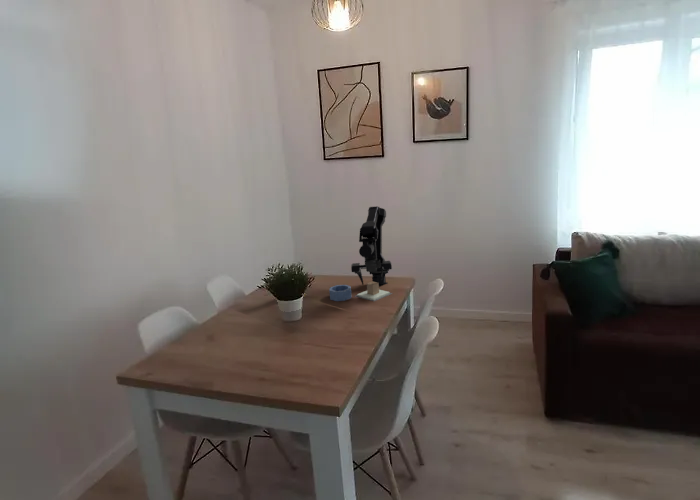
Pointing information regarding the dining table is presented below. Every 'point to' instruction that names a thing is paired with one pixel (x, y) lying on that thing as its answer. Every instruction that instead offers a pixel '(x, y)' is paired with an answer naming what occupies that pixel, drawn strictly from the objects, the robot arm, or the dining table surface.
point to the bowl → (340, 292)
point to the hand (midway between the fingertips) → (372, 283)
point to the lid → (373, 291)
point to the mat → (374, 300)
